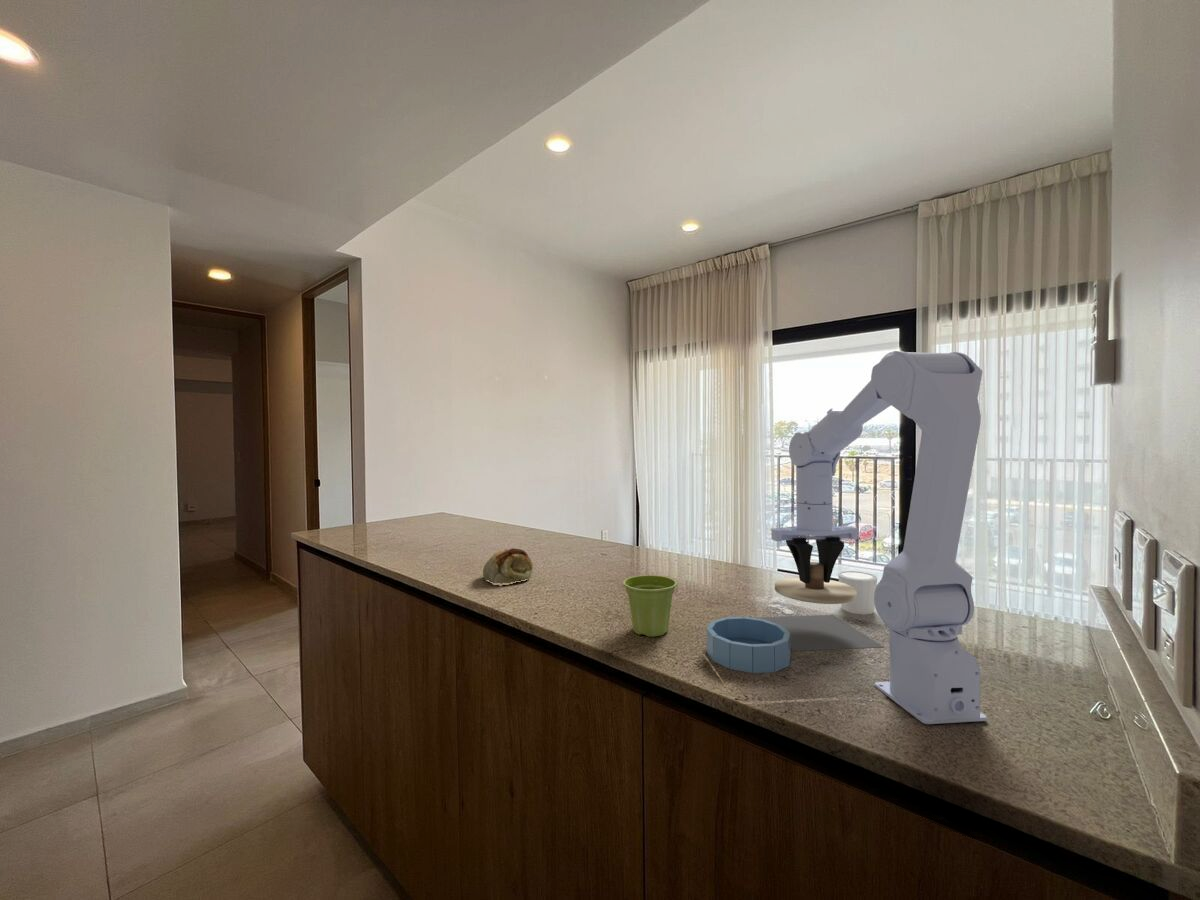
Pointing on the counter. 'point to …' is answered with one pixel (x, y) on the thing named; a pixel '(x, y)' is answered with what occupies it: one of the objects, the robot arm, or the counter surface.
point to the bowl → (748, 644)
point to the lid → (816, 588)
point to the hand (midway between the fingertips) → (814, 581)
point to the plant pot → (650, 603)
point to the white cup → (859, 591)
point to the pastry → (508, 566)
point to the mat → (822, 633)
